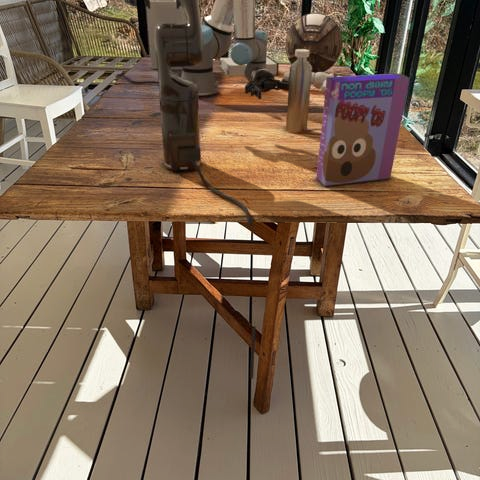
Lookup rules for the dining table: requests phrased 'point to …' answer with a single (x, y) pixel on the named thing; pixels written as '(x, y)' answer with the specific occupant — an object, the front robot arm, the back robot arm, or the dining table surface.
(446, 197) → the dining table surface
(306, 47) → the sphere
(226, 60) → the disc drive
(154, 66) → the tall grey upright box
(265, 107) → the dining table surface
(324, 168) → the cereal box
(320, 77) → the toy
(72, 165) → the dining table surface
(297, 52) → the cap
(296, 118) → the bottle
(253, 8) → the back robot arm
